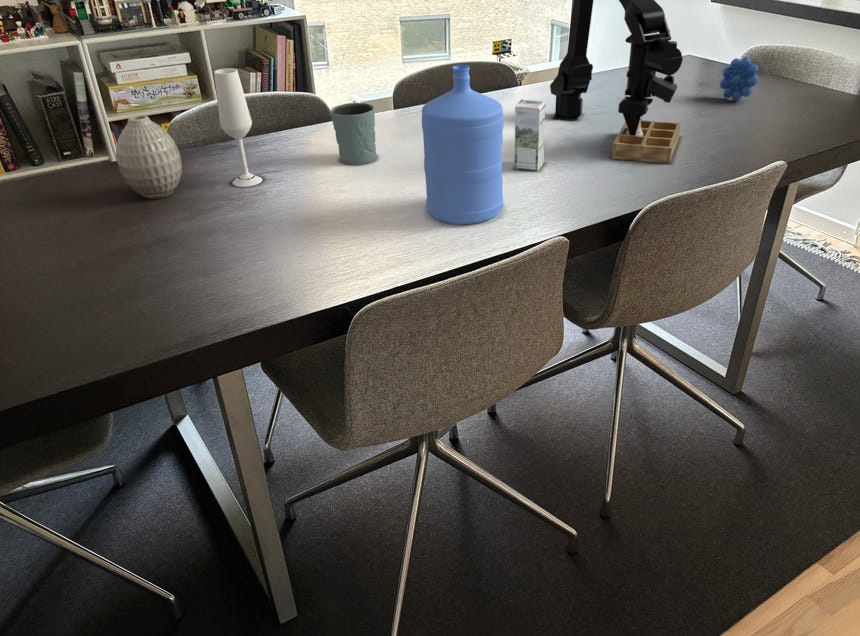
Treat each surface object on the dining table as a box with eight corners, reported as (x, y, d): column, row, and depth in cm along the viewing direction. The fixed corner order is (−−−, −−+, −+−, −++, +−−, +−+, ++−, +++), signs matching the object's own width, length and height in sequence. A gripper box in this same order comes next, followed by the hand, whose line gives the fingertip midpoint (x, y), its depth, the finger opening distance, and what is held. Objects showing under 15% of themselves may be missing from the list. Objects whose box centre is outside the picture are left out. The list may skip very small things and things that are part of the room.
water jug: (478, 232, 144) (475, 81, 129) (411, 216, 152) (401, 72, 136) (516, 204, 155) (519, 62, 139) (453, 190, 162) (448, 54, 146)
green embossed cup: (387, 158, 180) (383, 107, 174) (355, 169, 174) (349, 117, 168) (360, 149, 186) (354, 100, 180) (327, 160, 180) (321, 109, 174)
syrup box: (544, 163, 175) (546, 99, 167) (537, 171, 170) (539, 107, 162) (520, 161, 176) (521, 98, 168) (513, 169, 172) (514, 105, 164)
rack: (611, 158, 176) (612, 143, 174) (625, 133, 192) (626, 118, 190) (669, 163, 172) (671, 148, 170) (678, 137, 188) (680, 122, 186)
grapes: (762, 102, 211) (771, 57, 204) (747, 107, 207) (755, 61, 201) (727, 94, 219) (734, 50, 212) (712, 98, 215) (719, 54, 208)
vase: (131, 209, 158) (108, 130, 149) (124, 190, 167) (102, 114, 158) (193, 197, 163) (175, 120, 153) (183, 179, 172) (164, 105, 163)
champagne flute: (252, 173, 174) (231, 65, 160) (268, 180, 170) (248, 70, 156) (226, 181, 170) (203, 71, 157) (242, 189, 166) (219, 76, 153)
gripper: (672, 78, 163) (663, 149, 172) (681, 58, 177) (672, 124, 186) (621, 75, 166) (614, 144, 175) (634, 56, 180) (627, 121, 189)
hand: (634, 133), depth 181 cm, fingers closed on rook chess piece, 4 cm apart
